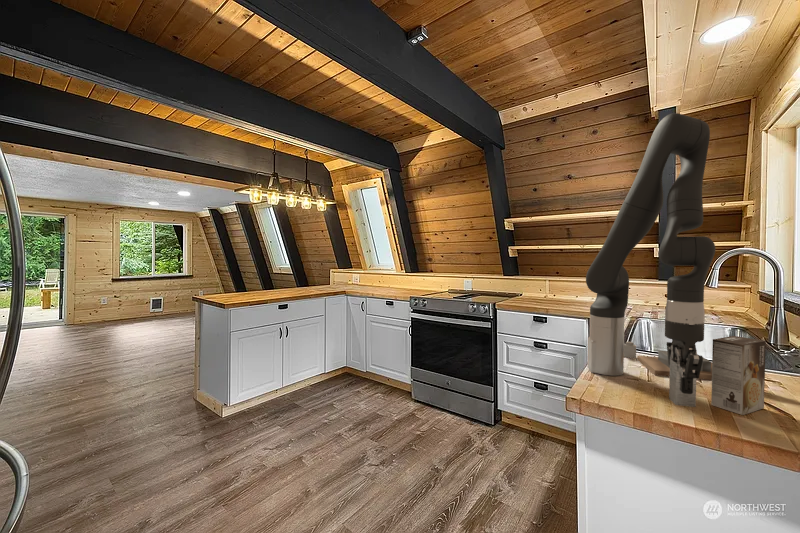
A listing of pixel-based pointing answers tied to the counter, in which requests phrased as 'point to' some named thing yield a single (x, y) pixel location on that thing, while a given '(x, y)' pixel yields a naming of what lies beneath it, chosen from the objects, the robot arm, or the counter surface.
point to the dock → (664, 368)
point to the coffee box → (738, 374)
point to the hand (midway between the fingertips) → (682, 389)
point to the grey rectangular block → (629, 350)
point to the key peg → (679, 387)
